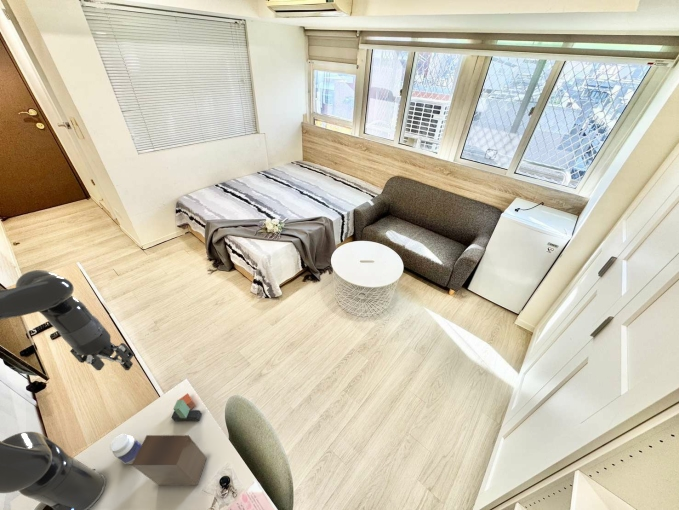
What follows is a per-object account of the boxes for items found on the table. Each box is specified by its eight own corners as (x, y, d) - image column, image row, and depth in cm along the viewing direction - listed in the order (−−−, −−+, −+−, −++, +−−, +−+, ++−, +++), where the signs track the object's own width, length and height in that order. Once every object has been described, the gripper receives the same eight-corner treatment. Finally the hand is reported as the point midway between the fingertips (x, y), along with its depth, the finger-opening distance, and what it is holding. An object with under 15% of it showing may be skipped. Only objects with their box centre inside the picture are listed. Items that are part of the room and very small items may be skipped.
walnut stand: (158, 485, 81) (131, 465, 71) (170, 457, 87) (146, 435, 76) (197, 485, 81) (176, 464, 71) (206, 457, 87) (188, 435, 76)
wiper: (173, 422, 96) (162, 409, 90) (177, 413, 98) (167, 399, 92) (198, 421, 96) (189, 408, 90) (202, 413, 98) (193, 399, 92)
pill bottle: (147, 445, 90) (134, 432, 84) (135, 465, 85) (120, 454, 79) (131, 443, 90) (117, 430, 84) (119, 463, 86) (102, 452, 80)
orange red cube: (195, 405, 100) (192, 400, 98) (185, 413, 98) (181, 408, 95) (191, 398, 102) (187, 392, 100) (180, 406, 100) (176, 401, 98)
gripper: (46, 345, 68) (82, 379, 77) (101, 345, 68) (131, 379, 77) (70, 322, 74) (101, 356, 83) (121, 322, 74) (146, 356, 83)
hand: (115, 367), depth 80 cm, fingers open, 8 cm apart
